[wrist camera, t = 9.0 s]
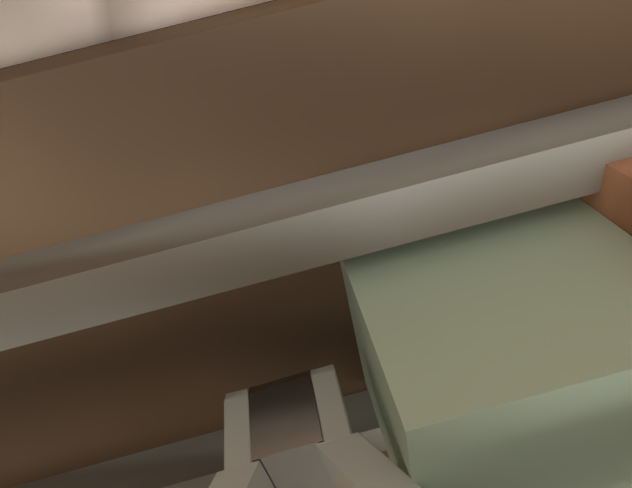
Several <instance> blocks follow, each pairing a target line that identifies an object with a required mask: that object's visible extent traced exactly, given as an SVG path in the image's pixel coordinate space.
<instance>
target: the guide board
mask: <svg viewBox="0 0 632 488" xmlns="http://www.w3.org/2000/svg"><path fill="white" fill-rule="evenodd" d="M575 198H580V199H581V200H583V201H584V202H586V203H587V204H588V205H590V206H591V207H592V208H594V209H595V210H597V211H598V212H599V213H601V214H602V215H603V216H605V217H606V218H608V219H609V220H610V221H612V222H613V223H614V224H616V225H617V226H619V227H620V228H621V229H623V230H624V231H625V232H627V233H628V234H630V235H631V236H632V0H274V1H270V2H266V3H262V4H258V5H254V6H250V7H246V8H242V9H238V10H234V11H230V12H226V13H222V14H218V15H214V16H210V17H206V18H202V19H198V20H194V21H190V22H186V23H182V24H178V25H174V26H170V27H166V28H162V29H158V30H154V31H150V32H146V33H142V34H138V35H134V36H130V37H126V38H122V39H118V40H114V41H110V42H106V43H102V44H98V45H94V46H90V47H86V48H82V49H78V50H74V51H70V52H66V53H62V54H58V55H54V56H50V57H46V58H42V59H38V60H34V61H30V62H26V63H22V64H18V65H14V66H10V67H6V68H2V69H0V488H209V486H210V484H211V482H212V480H213V478H214V477H215V475H216V473H217V472H220V471H223V470H224V400H225V396H226V394H227V393H231V392H235V391H238V390H242V389H246V388H249V387H253V386H257V385H261V384H265V383H268V382H271V381H274V380H278V379H281V378H285V377H288V376H291V375H295V374H298V373H301V372H305V371H308V370H310V371H311V370H314V369H317V368H321V367H324V366H328V365H331V364H333V365H334V368H335V371H336V375H337V378H338V382H339V385H340V389H341V392H342V396H343V399H344V403H345V406H346V410H347V413H348V417H349V420H350V424H351V428H352V431H353V433H356V432H360V433H361V434H362V435H363V436H364V437H365V438H366V439H367V440H369V441H370V442H371V443H372V444H373V445H374V446H375V447H376V448H378V449H379V450H380V451H381V452H382V453H383V454H384V455H385V456H386V457H388V458H389V455H388V452H387V448H386V445H385V442H384V439H383V436H382V433H381V430H380V427H379V423H378V420H377V417H376V414H375V411H374V408H373V405H372V401H371V398H370V395H369V392H368V389H367V386H366V383H365V378H364V374H363V369H362V364H361V359H360V355H359V350H358V345H357V341H356V336H355V331H354V326H353V322H352V317H351V312H350V307H349V303H348V298H347V293H346V289H345V284H344V279H343V274H342V270H341V265H340V261H342V260H346V259H350V258H354V257H357V256H361V255H365V254H369V253H372V252H376V251H380V250H384V249H387V248H391V247H395V246H399V245H402V244H406V243H410V242H414V241H417V240H421V239H425V238H429V237H433V236H436V235H440V234H444V233H448V232H451V231H455V230H459V229H463V228H466V227H470V226H474V225H478V224H481V223H485V222H489V221H493V220H496V219H500V218H504V217H508V216H512V215H515V214H519V213H523V212H527V211H530V210H534V209H538V208H542V207H545V206H549V205H553V204H557V203H560V202H564V201H568V200H572V199H575ZM389 459H390V458H389Z"/></svg>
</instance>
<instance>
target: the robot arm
mask: <svg viewBox="0 0 632 488" xmlns="http://www.w3.org/2000/svg"><path fill="white" fill-rule="evenodd" d="M209 488H421V487H420V486H419V485H418V484H417V483H412V480H411V478H410V477H409V476H408V475H407V474H406V473H404V472H403V471H402V470H401V469H400V468H399V467H398V466H397V465H395V464H394V463H393V462H392V461H391V460H390V459H389V458H388V457H386V456H385V455H384V454H383V453H382V452H381V451H380V450H379V449H378V448H376V447H375V446H374V445H373V444H372V443H371V442H370V441H369V440H367V439H366V438H365V437H364V436H363V435H362V434H361V433H360V432H356V433H353V431H352V428H351V424H350V420H349V417H348V413H347V410H346V406H345V403H344V399H343V396H342V392H341V389H340V385H339V382H338V378H337V375H336V371H335V368H334V365H333V364H331V365H328V366H324V367H321V368H317V369H314V370H311V371H310V370H308V371H305V372H301V373H298V374H295V375H291V376H288V377H285V378H281V379H278V380H274V381H271V382H268V383H265V384H261V385H257V386H253V387H249V388H246V389H242V390H238V391H235V392H231V393H227V394H226V396H225V400H224V470H223V471H220V472H217V473H216V475H215V477H214V478H213V480H212V482H211V484H210V486H209Z"/></svg>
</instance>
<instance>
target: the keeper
mask: <svg viewBox="0 0 632 488" xmlns="http://www.w3.org/2000/svg"><path fill="white" fill-rule="evenodd" d="M340 265H341V270H342V274H343V279H344V284H345V289H346V293H347V298H348V303H349V307H350V312H351V317H352V322H353V326H354V331H355V336H356V341H357V345H358V350H359V355H360V359H361V364H362V369H363V374H364V378H365V383H366V386H367V389H368V392H369V395H370V398H371V401H372V405H373V408H374V411H375V414H376V417H377V420H378V423H379V427H380V430H381V433H382V436H383V439H384V442H385V445H386V448H387V452H388V455H389V458H390V460H391V461H392V462H393V463H394V464H395V465H397V466H398V467H399V468H400V469H401V470H402V471H403V472H404V473H406V474H407V475H408V476H409V477H410V478H411V480H412V483H417V484H418V485H419V486H420V487H421V488H632V236H631V235H630V234H628V233H627V232H625V231H624V230H623V229H621V228H620V227H619V226H617V225H616V224H614V223H613V222H612V221H610V220H609V219H608V218H606V217H605V216H603V215H602V214H601V213H599V212H598V211H597V210H595V209H594V208H592V207H591V206H590V205H588V204H587V203H586V202H584V201H583V200H581V199H580V198H575V199H572V200H568V201H564V202H560V203H557V204H553V205H549V206H545V207H542V208H538V209H534V210H530V211H527V212H523V213H519V214H515V215H512V216H508V217H504V218H500V219H496V220H493V221H489V222H485V223H481V224H478V225H474V226H470V227H466V228H463V229H459V230H455V231H451V232H448V233H444V234H440V235H436V236H433V237H429V238H425V239H421V240H417V241H414V242H410V243H406V244H402V245H399V246H395V247H391V248H387V249H384V250H380V251H376V252H372V253H369V254H365V255H361V256H357V257H354V258H350V259H346V260H342V261H340Z"/></svg>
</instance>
